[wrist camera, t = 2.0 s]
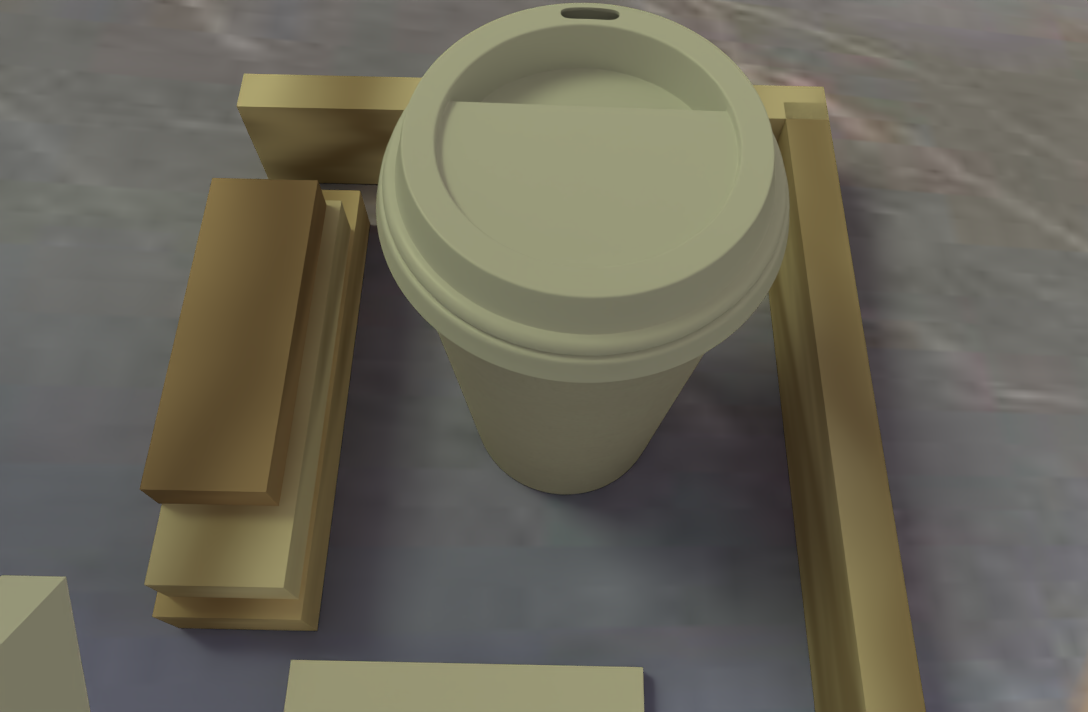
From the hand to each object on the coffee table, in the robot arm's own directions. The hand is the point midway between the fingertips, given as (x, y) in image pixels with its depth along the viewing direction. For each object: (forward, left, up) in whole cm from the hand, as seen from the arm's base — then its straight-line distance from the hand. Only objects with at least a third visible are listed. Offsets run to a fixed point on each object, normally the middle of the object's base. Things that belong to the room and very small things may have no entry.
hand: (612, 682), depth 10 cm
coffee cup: (0, +11, -18) cm, 21 cm away
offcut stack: (-10, +11, -18) cm, 24 cm away
